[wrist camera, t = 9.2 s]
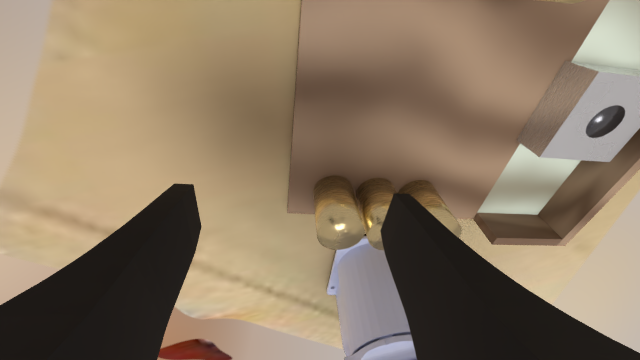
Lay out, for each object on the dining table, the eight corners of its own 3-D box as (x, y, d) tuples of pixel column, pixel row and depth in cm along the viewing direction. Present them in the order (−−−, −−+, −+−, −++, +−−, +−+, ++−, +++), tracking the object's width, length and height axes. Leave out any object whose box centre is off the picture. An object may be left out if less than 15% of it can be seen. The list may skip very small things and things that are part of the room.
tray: (535, 216, 27) (564, 245, 24) (287, 208, 23) (286, 240, 20) (748, -49, 15) (857, -55, 12) (311, -141, 12) (317, -179, 9)
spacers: (426, 209, 24) (450, 251, 20) (311, 205, 23) (314, 249, 19) (563, -80, 13) (666, -101, 9) (355, -122, 12) (383, -165, 8)
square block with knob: (580, 145, 21) (609, 162, 19) (516, 140, 20) (539, 157, 18) (639, 70, 18) (681, 81, 16) (564, 60, 17) (599, 71, 15)
